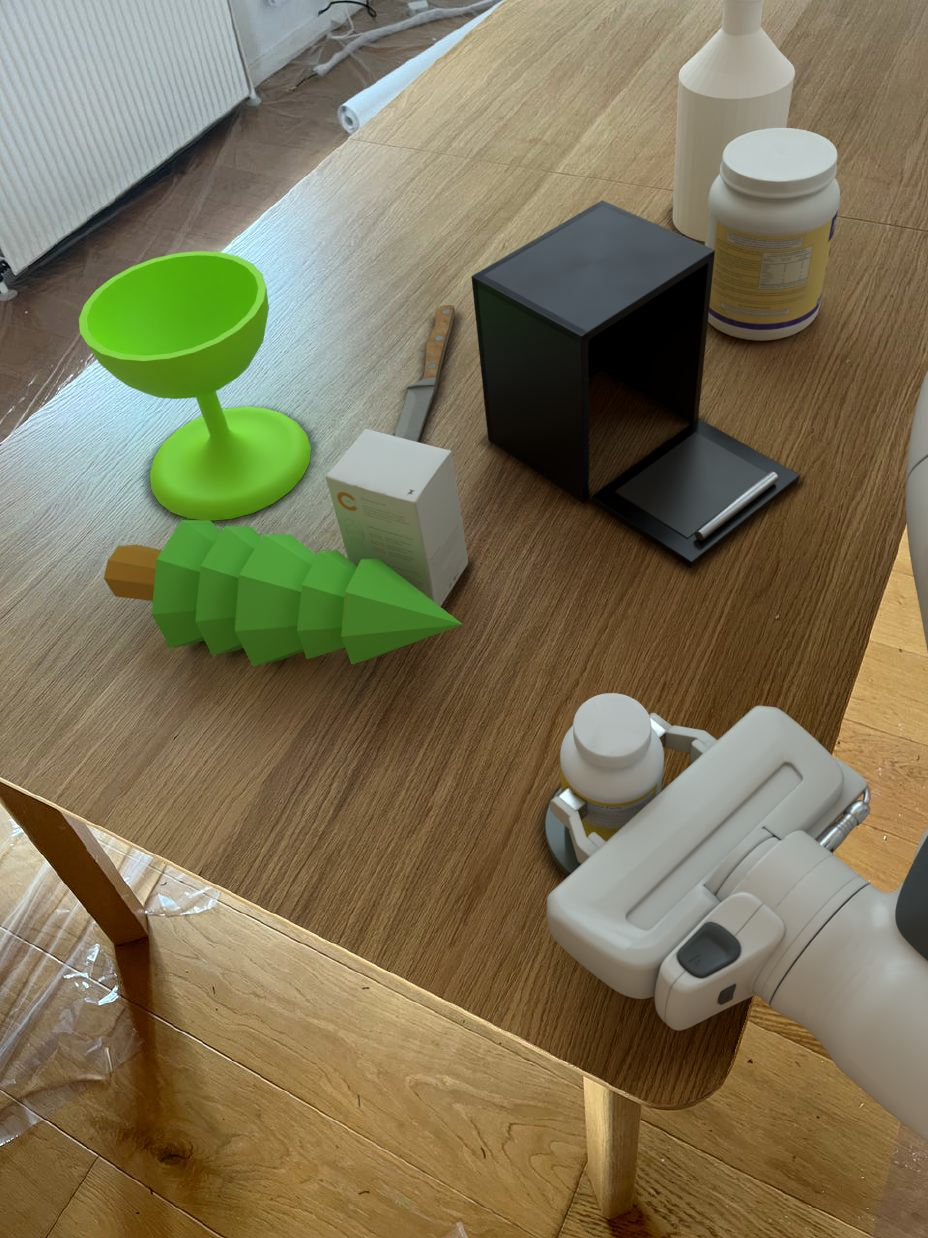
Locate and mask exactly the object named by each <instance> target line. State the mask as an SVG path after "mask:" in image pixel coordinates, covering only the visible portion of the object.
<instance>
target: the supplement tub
mask: <svg viewBox="0 0 928 1238" xmlns="http://www.w3.org/2000/svg"><path fill="white" fill-rule="evenodd" d="M837 161H838V150H837V147H836V146H835V145H834V144H833V142H831V140H829V139H828V138H826V137H824V136H822V135H821V134H818V133H816V132H812V131H809V130H806V129H800V128H793V127H792V128H791V127H786V128H771V129H762V130H757V131H753V132H750V133H747V134H744V135H742V136H739V137H737V138H736V139H734V140H733V141H731V142H730V143H729V144H728V145H727V146H726V148H725V149H724V152H723V157H722V163H721V166H720V174H719V175H718V177H717V178H716V179H715V181H714V182H713V184H712V186H711V189H710V193H709V197H708V212H707V224H706V236H705V242H704V245H705V246H707V247H709V248H711V249H714V250H715V257H714V267H713V277H712V287H711V297H710V307H709V317H708V324H710V325H711V326H712V327H713V328H715V329H716V330H718V331H720V332H722V333H723V334H725V335H728V336H731V337H734V338H738V339H742V340H743V339H744V340H747V341H748V340H749V341H773V340H774V341H775V340H780V339H784V338H788V337H790V336H793V335H796V334H797V333H799V332H801V331H803V330H804V329H805V328H807V327H809V325H811V323H812V322H813V321H814V320H815V318H817V316H818V314H819V310H820V308H821V304H822V297H823V292H824V287H825V282H826V276H827V270H828V265H829V260H830V254H831V249H832V244H833V239H834V233H835V229H836V228H835V227H836V222H837V217H838V213H839V207H840V205H841V204H840V203H841V190H840V189H841V188H840V185H839V183H838V180H837V179H836V175H837V170H838V168H837V163H838V162H837Z"/></svg>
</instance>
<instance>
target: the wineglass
mask: <svg viewBox="0 0 928 1238" xmlns="http://www.w3.org/2000/svg"><path fill="white" fill-rule="evenodd" d="M269 305H270V304H269V299H268V289H267V284H266V281H265V278H264V274H263V273H262V271H260V270H259V268H257V266H256V265H255V264H254V263H252V262H251V261H249V260H246V259H244V258H243V257H240V256H239V255H235V254H230V253H226V252H221V251H208V250H207V251H205V250H195V251H186V252H185V251H184V252H176V253H171V254H167V255H162V256H158V257H155V258H151V259H149V260H146V261H144V262H143V261H142V262H141V263H138V264H135V265H133V266H131V267H129V268H127V269H125V270H123V271H121V272H119V273H118V274H116V275H114V276H113V277H111V278H110V279H108V280H107V281H105V282H104V283H103V284H102V285H101V286H99V287H98V288H97V289H95V291H94V292H93V293H92V294H91V295H90V297H89V298H88V300H86V302H85V303H84V304H83V307H82V309H81V313H80V314H79V318H78V324H79V326H78V327H79V334H80V335H81V337H82V338H83V340H84V341H85V343H86V345H87V346H88V347H89V350H90V351H91V353H92V354H93V356H94V357H95V359H96V360H97V362H98V363H99V365H100V366H102V367H103V369H105V370H106V371H107V372H109V373H110V374H111V375H112V376H113V377H114V378H116V379H117V380H118V381H120V382H121V383H123V384H124V385H126V386H127V387H128V388H131V389H134V390H136V391H139V392H141V393H144V394H146V395H149V396H153V397H156V398H159V399H169V400H170V399H171V400H182V399H183V400H184V399H194V398H195V399H196V401H197V404H198V407H199V411H200V412H201V415H202V416H199V417H196V418H195V419H193V420H190V421H189V422H187V423H186V424H184V425H183V426H181V427H180V428H178V429H177V430H175V431H174V432H173V433H172V434H171V435H170V436H169V437H168V438H167V439H166V440H165V441H164V442H163V443H162V444H161V446H160V447H159V449H158V451H157V452H156V454H155V455H154V457H153V460H152V464H151V467H150V470H149V481H150V489H151V492H152V494H153V496H154V497H155V499H156V500H157V502H158V504H160V505H161V506H162V507H164V508H165V509H166V510H168V511H169V512H170V513H172V514H175V515H177V516H180V517H184V518H185V519H187V520H210V521H211V522H213V521H224V520H233V519H236V518H241V517H243V516H247V515H252V514H254V513H256V512H258V511H260V510H263V509H265V508H268V507H269V506H271V505H273V504H274V503H276V502H278V501H279V500H280V499H282V498H283V497H285V496H286V495H288V493H290V492H291V491H292V490H293V489H294V488H295V487H296V485H297V484H298V483H299V482H300V481H301V480H302V478H303V477H304V475H305V473H306V471H307V470H308V467H309V465H310V463H311V453H312V446H311V443H310V440H309V437H308V434H307V433H306V432H305V431H304V429H303V428H302V426H300V424H299V423H298V422H297V421H296V420H294V419H292V418H291V417H289V416H287V415H286V414H284V413H282V412H280V411H277V410H273V409H269V408H266V407H256V406H239V407H238V406H237V407H236V406H235V407H227V408H223V407H222V405H221V401H220V399H219V395H218V393H217V391H219V390H221V389H223V388H224V387H225V386H227V385H228V384H230V383H233V381H235V380H236V379H238V378H239V377H240V376H241V375H242V374H243V373H245V371H246V370H247V369H248V368H249V367H250V366H251V363H252V362H253V360H254V358H255V357H256V355H257V353H258V351H259V350H260V348H261V346H262V344H263V342H264V338H265V333H266V328H267V322H268V316H269V310H270V306H269Z"/></svg>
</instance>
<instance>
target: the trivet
mask: <svg viewBox="0 0 928 1238" xmlns="http://www.w3.org/2000/svg"><path fill="white" fill-rule="evenodd" d="M561 791H562V786H561V787H559V789H558V790H557V791H556V792H555V794H554V795H553V797H552V798H551V800H552V799H553V798H554V797H555V796H557V795H558V794H559V793H560V792H561ZM544 836H545V843H546V846H547V850H548V852H549V855H550V856H551V858H552V860H553V862H554V863H555V865H556V866H557V867H558V869H560V870H561V872H563V874H565V875H566V877H568V876H569V875H570V874H572V873H573V872H574V871H575V870H576V869H577V868H578V867H579V866H580V865H581V863H579V862H578V859H577V856H576V853H575V849H574V846H573V842H572V839H571V836H570V833H569V831H568V829H567V827H566V826H565V825H564V824H563V823H562V822H561V821H560V820H559V819H558V818H556V817H555V816H554V814H553V813H552V811H551V809H550V803H548V806H547V808H546V812H545V817H544Z"/></svg>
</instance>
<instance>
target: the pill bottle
mask: <svg viewBox="0 0 928 1238" xmlns="http://www.w3.org/2000/svg"><path fill="white" fill-rule="evenodd" d="M649 715H650V714H649V713H648V710H646V708H645V707H644V706H643V705H642V704H641V703H640V702H639V701H638V700H637V699H635V698H632V697H631V696H628V695H626V694H622V693H616V692H609V693H608V692H607V693H602V694H598V695H595V696H593V697H590V698H588V699H587V700H586V701H584V702H583V703H582V704H581V705H580V706H579V707H578V709H577V710H576V712H575V714H574V717H573V722H572V725H571V726H570V728H569V729H568V730H567V732H566V734H565V735H564V738H563V739H562V742H561V745H560V751H559V762H560V763H559V764H560V765H559V766H560V767H559V768H560V781H561V787H562V790H564V789H565V788H566V787H570V788H571V789H572V790H573V791H574V795H579V796H580V797H581V798H583V799H584V800H585V801H586V804H587V807H586V809H585V810H586V811H587V816H586V817H585V818H584V819H583V820H582V821H581V822H582V825H583V828H584V831H585V834H586V837H587V838H588V836H589V835H590V834H591V833H592V832H595V833H597V834H598V835H599V836H600V837H601V838H602V839H603V840H605V841H606V842H607V841H608V840H609V839H610V838H611V837H612V836H613V835H614V834H615V833H616V832H618V831H619V830H620V829H621V828H622V827H623V826H624V825H625V824H626V823H627V822H629V821H630V820H631V819H632V818H633V817H634V816H635V815H636V814H637V813H638V812H640V811H641V810H642V809H643V808H644V807H645V806H646V805H647V804H648V803H649V802H650V801H652V800H653V799H654V798H655V797H656V796H657V795H658V794H659V793H660V792H661V791H663V778H664V767H665V752H664V748H663V746H662V743H661V741H660V738H659V736H658V735H657V733H656V732H655V730H654V729H653V728H652V727H651V720H650V717H649ZM567 829H568V828H567ZM568 831H569V829H568ZM569 833H570V832H569Z"/></svg>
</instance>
